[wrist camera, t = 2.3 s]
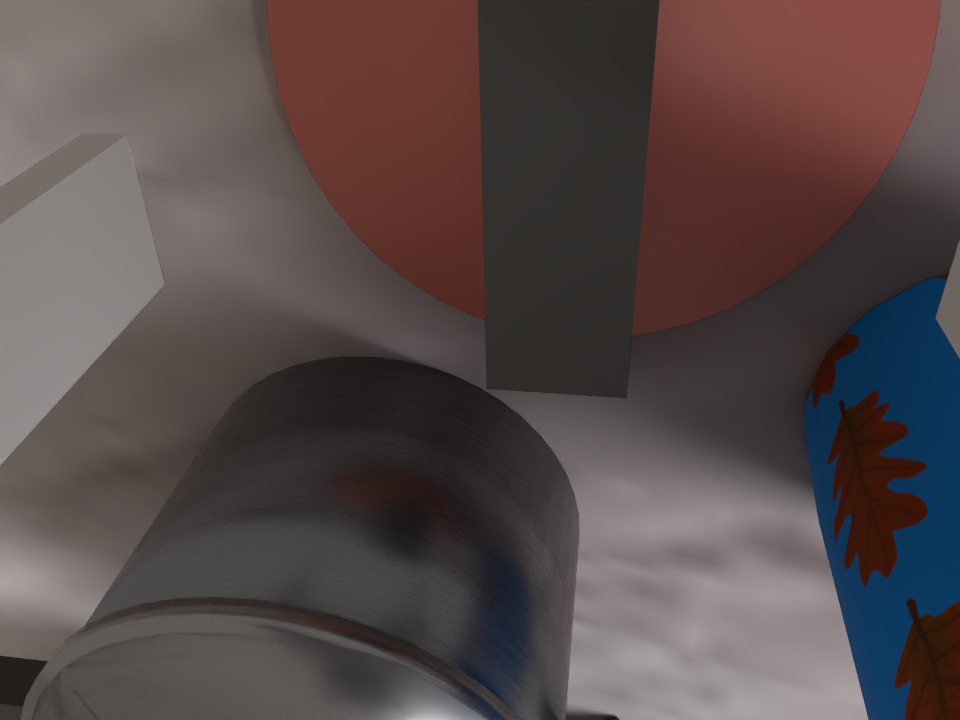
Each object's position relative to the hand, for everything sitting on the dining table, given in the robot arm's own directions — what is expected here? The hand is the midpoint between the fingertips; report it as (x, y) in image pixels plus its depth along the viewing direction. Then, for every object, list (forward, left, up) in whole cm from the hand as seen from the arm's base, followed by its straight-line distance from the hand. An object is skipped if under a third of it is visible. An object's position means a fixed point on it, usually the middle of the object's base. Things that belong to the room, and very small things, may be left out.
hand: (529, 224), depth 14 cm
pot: (+7, +18, -12) cm, 23 cm away
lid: (0, 0, -12) cm, 12 cm away
